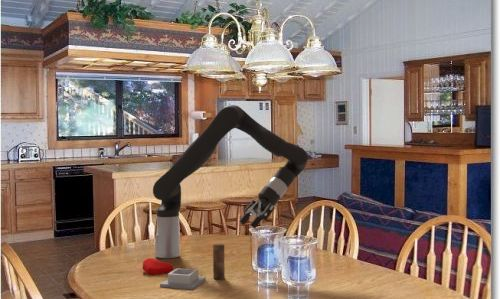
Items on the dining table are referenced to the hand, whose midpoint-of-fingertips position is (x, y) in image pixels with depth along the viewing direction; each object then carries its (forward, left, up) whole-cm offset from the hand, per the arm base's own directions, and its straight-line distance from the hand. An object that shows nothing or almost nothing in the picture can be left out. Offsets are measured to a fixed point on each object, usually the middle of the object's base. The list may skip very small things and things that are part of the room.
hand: (246, 225), depth 201 cm
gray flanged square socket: (-18, -17, -18) cm, 31 cm away
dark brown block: (-8, -8, -18) cm, 22 cm away
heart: (-34, -6, -19) cm, 39 cm away
